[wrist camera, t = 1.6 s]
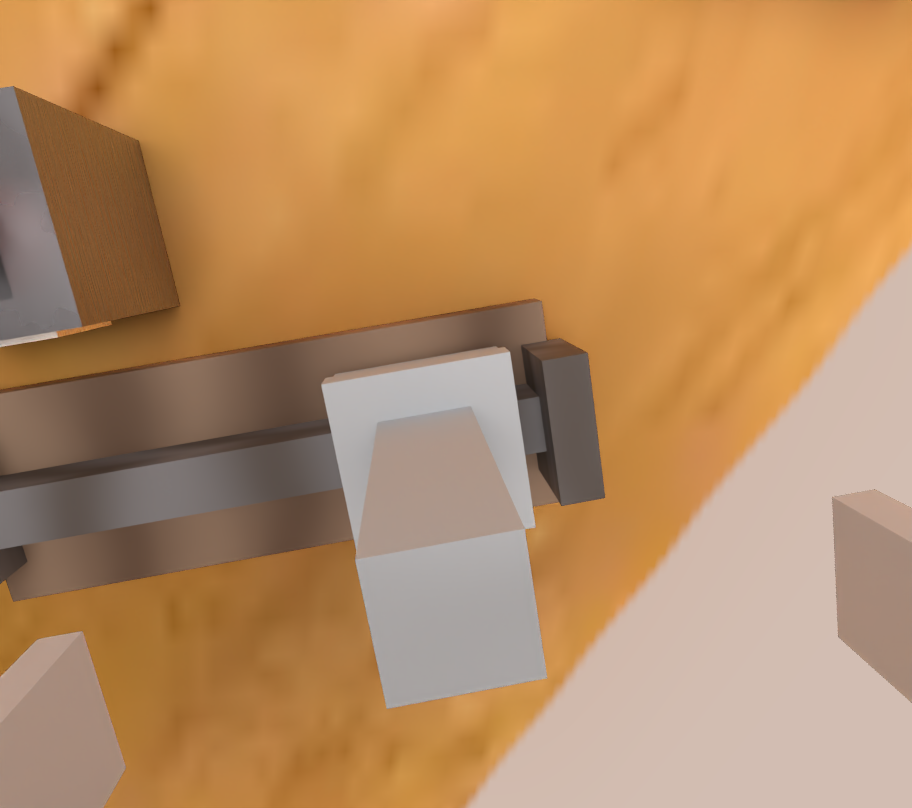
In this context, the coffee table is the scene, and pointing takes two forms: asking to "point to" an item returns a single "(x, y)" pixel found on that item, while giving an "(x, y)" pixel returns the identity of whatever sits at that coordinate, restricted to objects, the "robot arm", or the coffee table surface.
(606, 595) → the coffee table surface
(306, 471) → the slide rail
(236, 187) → the coffee table surface
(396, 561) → the carriage
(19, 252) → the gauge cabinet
